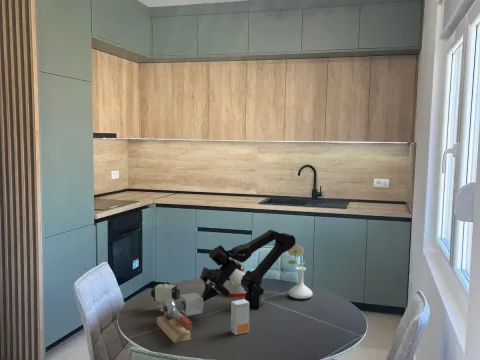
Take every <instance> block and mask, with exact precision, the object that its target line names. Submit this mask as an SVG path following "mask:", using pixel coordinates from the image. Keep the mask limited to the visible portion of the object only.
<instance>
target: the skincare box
mask: <svg viewBox="0 0 480 360" xmlns="http://www.w3.org/2000/svg"><path fill="white" fill-rule="evenodd" d="M230 306H231V307H230V331H231V332H232V333H233V334H234V335H235V336H236V335H241V334H245V333H249V332H250V308H249V302H248V301H247V300H245V298H243V299H237V300H232V301H231V302H230Z"/></svg>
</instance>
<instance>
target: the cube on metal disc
mask: <svg viewBox="0 0 480 360" xmlns="http://www.w3.org/2000/svg"><path fill="white" fill-rule="evenodd" d="M202 295H203V294H201V293H197V292H191V293H185V294H180V297H179V302H184V303H185V309H183V310H179V312H180V313H181V312H182V313H181V314H183V315H184V316H186V317H189V316H193V315H198V314H203V310H204V308H205V301H204V300H203V297H202Z"/></svg>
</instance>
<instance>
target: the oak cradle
mask: <svg viewBox="0 0 480 360" xmlns="http://www.w3.org/2000/svg"><path fill="white" fill-rule="evenodd" d="M156 324H157V326H158V327H159V328H160V329H161V330H162V331H163V333H164V334H165V335H166V336H167V337H168V338H169V339H170V340H171V341H172V343H174V344H177V343H181V342H186V341H190V340H191V339H192V338H191V336H192V335H191V330H188V331H187V330H186V329H185V328H184V327H183V326H182V325H180V322H179V321H177V320H176V319H175V318H174V317H172V318H166V317H165V315H162V316H157V317H156Z"/></svg>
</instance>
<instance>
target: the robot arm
mask: <svg viewBox="0 0 480 360" xmlns="http://www.w3.org/2000/svg"><path fill="white" fill-rule="evenodd" d="M273 241H274V246H273V248H272V249H271V250H270V251H269V252H268V253H267V254H266V255H265V256H264V258H263V259H262V260H261V261H260V263H259V264H258V265H257V266H256V267H255V269H254V270H246V272H244V273H245V275H244V276H242V277H243V278H242V279H241V286H242V287H243V288H244V291H246V296H244V299H245V300H247V301H248V302H249V309H250V310H251V309H252V310H259V309H260V308H261V307H262V306H263V303H262V296H263V295H264V292H265V290H264V288H262V287H261V285H262V282H263V278H264V276H265V275H266V274H267V273H268V271H269V270H270V269H271V268H272V267H273V265H274V264H275V263H276V262H277V261H278V260H279V258H280V257H281V256H282V255H283V254H284V253H286V252H288V250H290V249H291V248H292V247H293V246H294V245H295V244H296V238H295V235H292V234H289V233H286V232H281V233H280V232H278V231H276V230H273V229H269V230H267V231H266V232H264V233H263V234H261V235H260V236H258V237H256V238H254V239H253V240H251V241H249V242H247V243H243V244H239V245H236V246H234V247H232V248H231V249H228V250H226V249H224V246H222V245H221V244H219V245H218V246H216V247H214V248H213V249H211V250H210V252H209V254H208V257H209V258H210V259H211V260H212V261H213V262H214V263H215V264H216V265H217V266H218V267H219V266H220V267H219V268H215V269H214V268H208V267H205V266H204V267H203V268H202V271H201V274H200V276H199V279H200V280H201V281H203V284H204V290H203V293H202V294H201V295H202V297H203V300H204V302H206V301H208V300H210V299H212V298H214V297H217V296H220V293H221V294H222V296H224V297H225V298H228V297H230V296H229V294H230V291H229V290H228V289H227V288H226V287H224V286H223V285H224V283H225V282H226V281H227V280H228V281H229V280H230V279H229V277H230V276H231V275H232V273H233V272H234V271H235V270H236V269H238V270H240V271H241V269H242V266H241V263H245V262H246V261H247V260H248V259H250V258H251V257H252V255H253V254H254V253H255V252H256V251H258V250H260V249H261V248H263V247H265V246H267V245H268V244H269V243H271V242H273ZM236 261H237V262H236ZM238 262H239V263H238Z"/></svg>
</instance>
